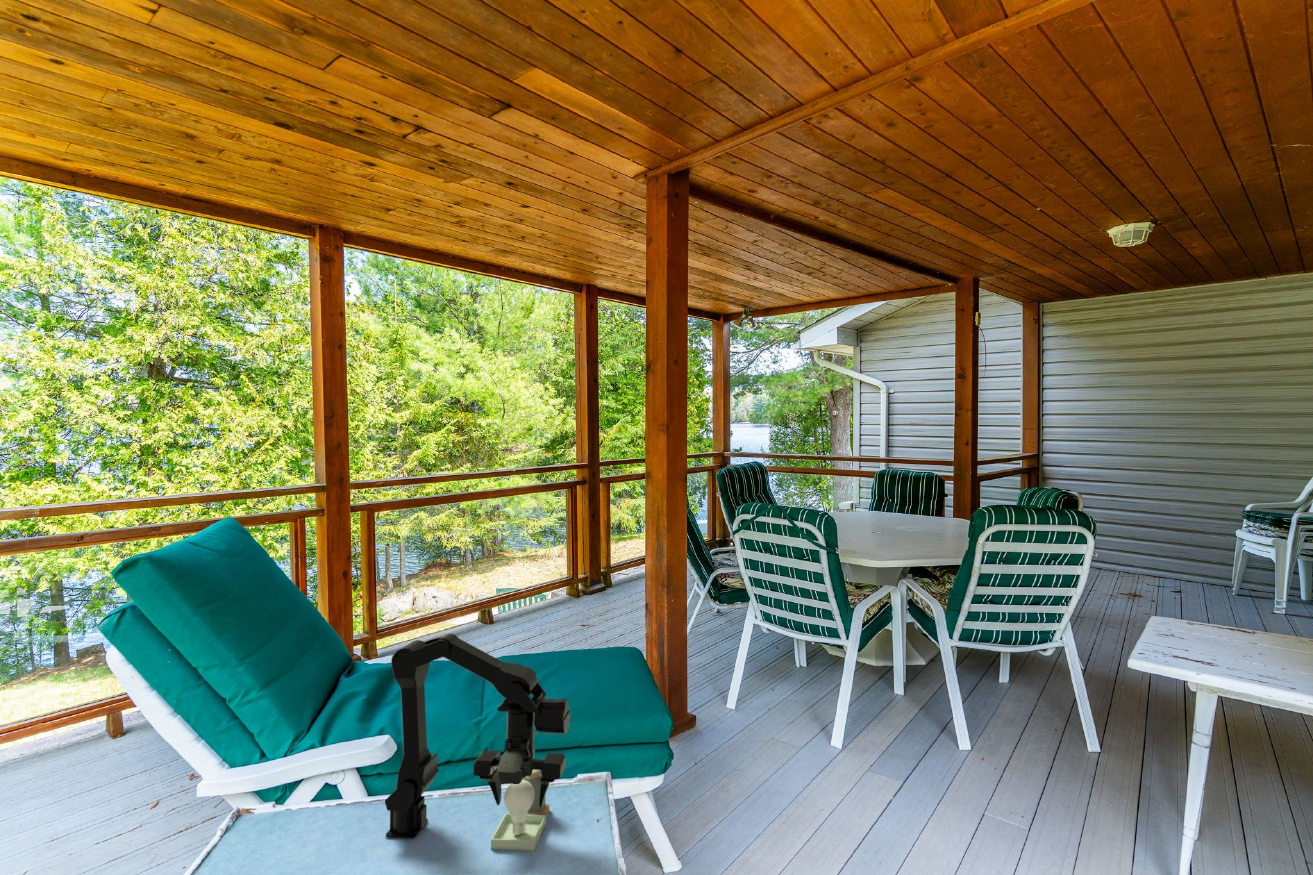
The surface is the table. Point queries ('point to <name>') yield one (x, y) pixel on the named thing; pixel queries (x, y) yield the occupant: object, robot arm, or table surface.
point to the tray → (523, 842)
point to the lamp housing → (537, 795)
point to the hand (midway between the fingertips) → (519, 805)
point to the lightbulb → (519, 804)
